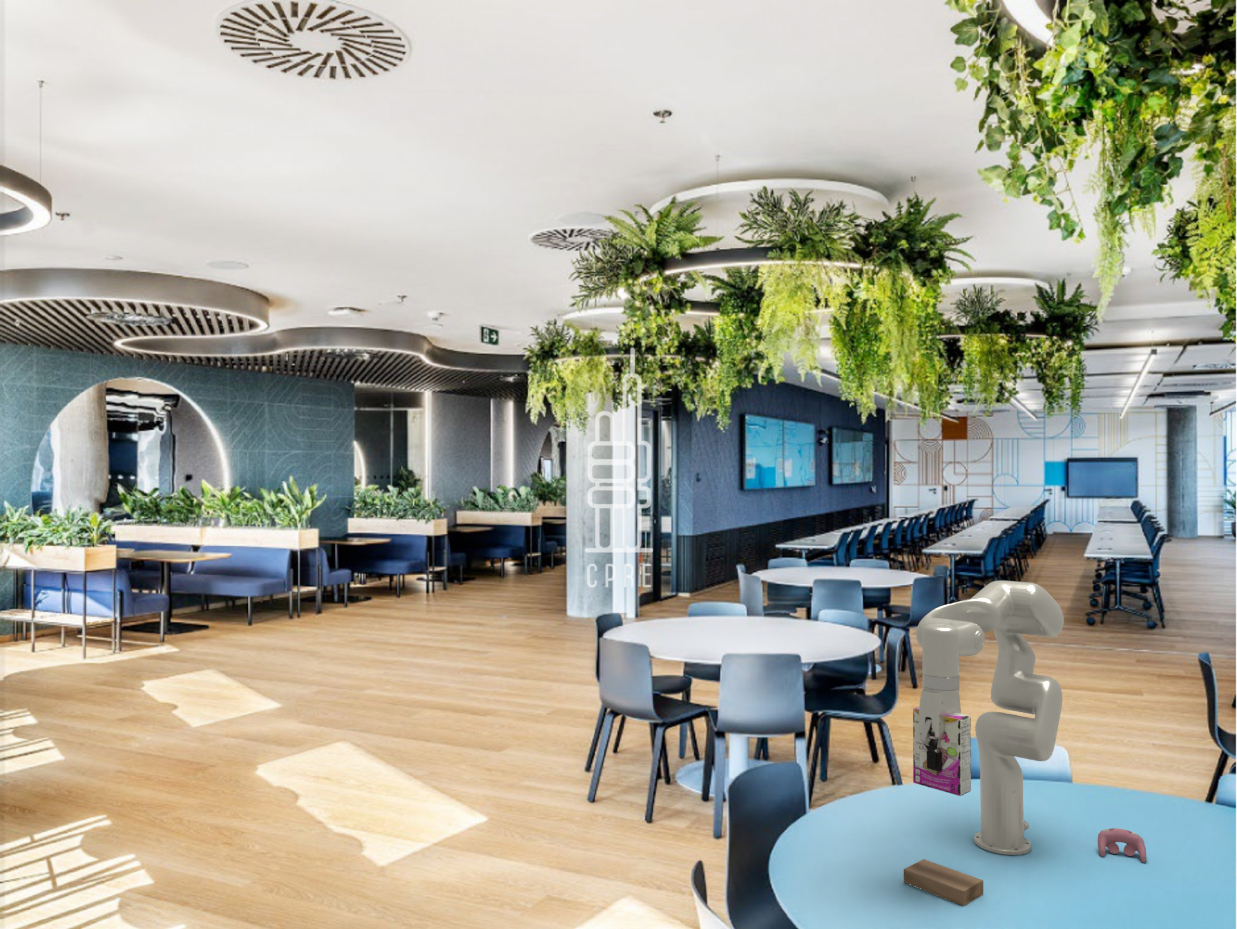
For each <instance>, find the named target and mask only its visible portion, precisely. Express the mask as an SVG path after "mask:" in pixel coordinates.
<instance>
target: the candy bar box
mask: <svg viewBox="0 0 1237 929" xmlns="http://www.w3.org/2000/svg"><path fill="white" fill-rule="evenodd" d="M912 710H913V712H912V713H913V714H912V715H913V716H912V717H913V718H912V722H913V723H912V727H913V728H912V729H913V731H912V736H913V738H912V741H913V743H912V744H913V746H912V749H913V750H912V753H913V754H912V756H913V758H912V759H913V760H912V762H913V766H912V769H913V770H912V771H913V773H912V774H913V777H912V780H913V784H917V785H920V786H924V787H927V788H930V789H935V790H938V791H940V792H941V791H942V792H945V793H948V794H952V795H956V796H959V797H961V796H964V795H966V794H968V793H970V792H971V791H972V788H971V787H972V783H971V782H972V778H971V777H972V772H971V770H972V769H971V767H972V763H971V761H972V760H971V757H972V753H971V752H972V751H971V750H972V749H971V747H972V745H971V744H972V743H971V737H972V736H971V734H972V733H971V729H972V728H971V727H972V725H971V724H972V723H971V722H972V721H971V718H972V717H971V715H969V714H967V713H966V714H965V713H962V712H961V713H953V714H950V715H947V716H946V718H945V733H944V737H943V738H941V745H940V752H941V753H942V771H940V772H938V771H935V770H931V769H928V768H927V750H925V745H924V743H923V742H922V741H921V740H920V736H921V735H920V734H919V706H918V707H915V708H913V709H912ZM931 736H934V737H935V734H933V733H931ZM931 741H933V742H934V744H935V743H936V740H934V739H931Z"/></svg>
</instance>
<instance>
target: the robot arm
mask: <svg viewBox="0 0 1237 929" xmlns="http://www.w3.org/2000/svg"><path fill="white" fill-rule="evenodd" d="M1064 620H1065V619H1064V613H1063V611H1062V608H1061V606H1060V605H1059V603H1058V602H1057V600H1055V599H1054V598H1053V597H1052V595H1051V594H1050V593H1049V592H1048V591H1047V590H1046V589H1045V588H1044V587H1043V586H1041V585H1039V584H1037V583H1034V582H1027V581H1025V582H1024V581H1016V580H1015V581H1014V580H1012V581H1011V580H994V581H991V582H989V583H988V584H986V585H985V586H984V587H983V588H982V589H981V590H979V591H978V592H977V593H976V594H974V595H973V596H972V597H971V598H968V599H963V600H959V601H955V602H953V603H947V604H944V605H941V606H938V607H936V608H933V609H932V610H931V611H930V612H928V613H927V614H926V615H924V616H923V618H921V620H919V623H918V625H917V628H916V632H915V634H916V635H915V636H916V641H917V643H918V645H919V646H920V647H921V649H922V652H921V654H922V655H921V656H922V658H921V659H922V664H921V665H922V689H921V693H920V699H919V706H918V707H919V734H920V735H921V736H920V740H921V741H922V742H923V743H924V745H925V750H927V768H928V769H931V770H935V771H938V772H940V771H942V753H941V752H940V745H941V738H943V737H944V733H945V718H946V716H947V715H950V714H953V713H961V714H962V712H961V711H962V710H961V709H962V708H961V699H960V657H973V656H975V655H977V654H979V653H980V652H981V651H982V650H983V647H984V646H985V641H986V638H985V633H988V632H992V631H993V633H994V636H995V639H996V642H997V643H996V644H997V646H998V649H997V650H998V654H997V660H996V664H995V669H994V673H993V678H992V682H991V683H992V684H991V688H990V689H991V690H990V700H991V701H992V704H994V706H996V707H998V708H1000V709H1003V710H1008V711H1012V712H1018V713H1023V714H1028V715H1033V716H1034V718H1032V717H1029V716H1022V715H1018V714H1012V713H1006V712H1000V711H987V712H983V713H981V714H980V715H979V716H978V717H977V718H976V721H975V737H976V741H977V742H976V743H977V748H978V754H979V770H980V771H979V776H980V777H979V782H980V786H979V787H980V788H979V790H980V792H979V793H980V794H979V795H980V831H978V832H976V833H975V834H974V835H973V842H974V844H975V845H977V846H978V847H979V848H981V849H983V850H985V851H988V852H990V853H994V854H999V855H1005V856H1022V855H1025V854H1028V853H1029V852H1030V851H1031V850H1032V845H1031V844H1032V843H1031V842H1030V841H1029V839H1027V838H1025V837H1024V836H1025V835H1024V834H1025V831H1026V830H1028V829H1029V828H1030V824H1029V823H1028V821H1025V820H1024V774H1023V771H1022V768H1021V765H1020V764H1019V762H1018V760H1017V759H1016V758H1020V759H1021V758H1022V759H1026V760H1030V761H1036V762H1047V761H1048V760H1049V759H1051V757H1052V755H1053V753H1054V751H1055V745H1056V742H1057V736H1058V731H1059V730H1058V729H1059V724H1060V719H1061V713H1062V707H1063V691H1062V690H1063V689H1062V687H1061V685H1060V683H1059V682H1058V681H1057V679H1055V678H1053V677H1050V676H1048V675H1042V674H1036V673H1035V674H1034V671H1035V670H1034V669H1035V663H1036V654H1035V652H1034V650H1033V649H1032V647H1031V645H1030V644H1029V642H1028V641H1027V640H1026V638H1024V636H1023V635H1027V636H1038V637H1045V638H1051V637H1056V636H1058V635H1059V634H1060V633H1061V632H1062V630H1063V628H1064V623H1065V621H1064ZM931 733H933V734H935V737H934V736H931ZM931 739H934V740H936V743H935V744H934V742H933V741H931Z"/></svg>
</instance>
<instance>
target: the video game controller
mask: <svg viewBox="0 0 1237 929" xmlns="http://www.w3.org/2000/svg"><path fill="white" fill-rule="evenodd" d="M1117 843H1124V844H1125V845H1124V846H1123V854H1124V855H1125V856H1127V857H1133V856H1134V855H1135V853H1136V852H1137V854H1138V855H1139V856H1138V857H1139V859H1140V861H1141V862H1142V863H1143V862H1145V863H1146V862H1147V849H1146V846H1145V845H1146V844H1145V840H1144V839H1143V837H1141V836H1140V835H1139V834H1138V833H1136V832H1134V831H1131V830H1129V829H1123V828H1117V827H1115V828H1114V827H1113V828H1112V827H1111V828H1104V829H1103V830H1101V831H1100V832H1099V833H1098V835H1097V848H1098V853H1099V856H1100V857H1102V858H1103V857H1105V855H1106V850H1108V851H1109V853H1111V854H1114V855H1116V854H1118V853H1119V852H1120V847H1119V845H1118V844H1117Z"/></svg>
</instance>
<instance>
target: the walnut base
mask: <svg viewBox="0 0 1237 929" xmlns="http://www.w3.org/2000/svg"><path fill="white" fill-rule="evenodd" d="M903 883H904V884H905V883H907V884H906V885H908V884H911V885H912V886H911V885H910V886H911V887H913V886H916V887H918V888H921V889H922V890H921V889H920V890H921V891H924V890H926V891H927V893H929V892H930V893H929V894H931V893H932V894H931V895H934V896H936V895H937V897H938V898H939V897H940V898H942V899H944V900H947V901H949V902H950V901H951V902H952V903H955V904H957V905H960V906H962V907H964V906H967V905H968V904H970V903H971V902H973V901H975V900H977V899H978V898H981V896H983V895H984V879H981V878H977V877H976V876H972V875H969V874H966V873H965V872H962V871H958V870H957V869H953V868H950V867H947V866H944V865H941V864H938V863H936V862H933V861H930V860H928V859H925V858H924V859H921V860H918V861H917V862H915V863H913V864H910V865H909V866H907V867H905V868H903ZM916 887H915V888H916ZM918 888H917V889H918ZM926 891H925V892H926Z"/></svg>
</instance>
